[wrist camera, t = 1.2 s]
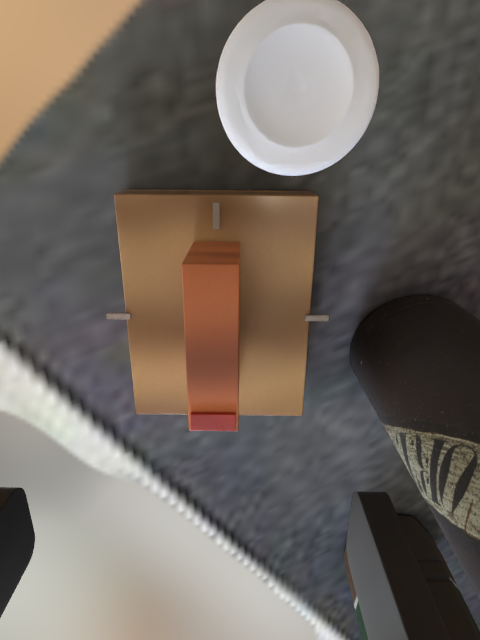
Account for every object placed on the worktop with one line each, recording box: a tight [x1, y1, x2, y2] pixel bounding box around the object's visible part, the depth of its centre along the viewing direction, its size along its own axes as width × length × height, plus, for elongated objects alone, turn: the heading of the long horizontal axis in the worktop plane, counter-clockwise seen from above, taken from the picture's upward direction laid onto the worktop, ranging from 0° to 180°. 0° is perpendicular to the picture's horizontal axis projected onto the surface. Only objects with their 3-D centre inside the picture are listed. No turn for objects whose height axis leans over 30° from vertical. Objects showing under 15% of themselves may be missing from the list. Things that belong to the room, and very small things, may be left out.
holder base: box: [107, 189, 329, 416], centre depth 26 cm, size 14×13×3 cm
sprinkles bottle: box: [216, 0, 379, 176], centre depth 18 cm, size 5×4×13 cm
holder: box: [181, 242, 240, 431], centre depth 23 cm, size 9×3×5 cm, turn 0°
